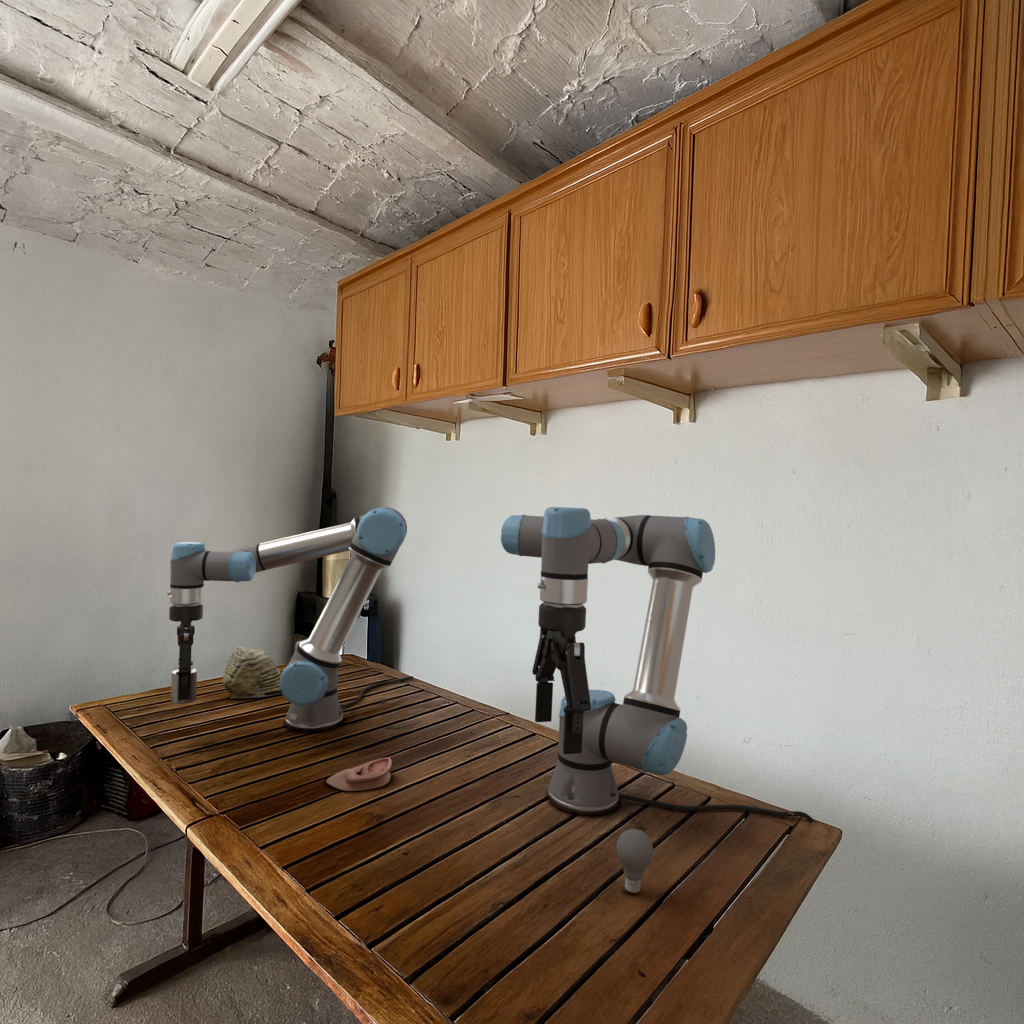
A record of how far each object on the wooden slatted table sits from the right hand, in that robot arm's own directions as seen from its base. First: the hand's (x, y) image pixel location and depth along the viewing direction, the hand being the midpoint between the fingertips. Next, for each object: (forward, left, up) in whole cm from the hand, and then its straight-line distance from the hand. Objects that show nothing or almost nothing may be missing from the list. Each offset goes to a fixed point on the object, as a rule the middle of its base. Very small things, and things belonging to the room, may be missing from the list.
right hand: (556, 736), depth 101 cm
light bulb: (-15, 0, -27) cm, 31 cm away
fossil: (+57, -116, -27) cm, 132 cm away
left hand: (+70, -80, -15) cm, 107 cm away
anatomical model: (+28, -50, -27) cm, 63 cm away
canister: (+70, -80, -16) cm, 108 cm away
